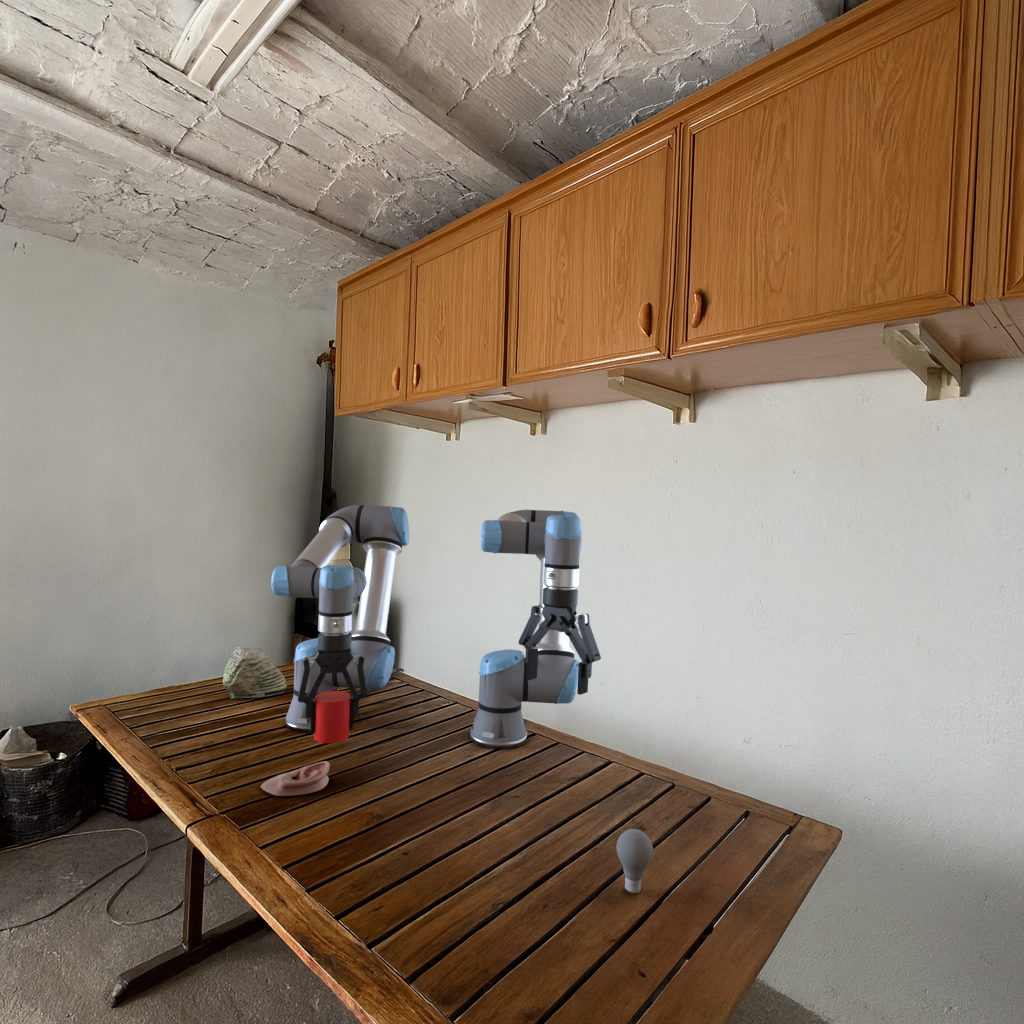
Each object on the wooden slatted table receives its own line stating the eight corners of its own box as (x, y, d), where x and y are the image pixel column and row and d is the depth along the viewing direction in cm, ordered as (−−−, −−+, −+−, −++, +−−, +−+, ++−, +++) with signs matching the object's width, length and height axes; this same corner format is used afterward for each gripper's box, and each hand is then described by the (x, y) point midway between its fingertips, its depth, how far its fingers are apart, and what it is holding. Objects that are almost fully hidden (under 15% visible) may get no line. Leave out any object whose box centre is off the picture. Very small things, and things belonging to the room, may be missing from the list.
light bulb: (610, 879, 108) (613, 822, 108) (644, 879, 109) (647, 822, 109) (619, 902, 102) (622, 840, 102) (655, 901, 103) (658, 840, 103)
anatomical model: (253, 773, 134) (283, 753, 145) (252, 792, 134) (282, 770, 145) (310, 782, 131) (336, 760, 142) (309, 801, 131) (335, 777, 143)
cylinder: (312, 731, 150) (313, 692, 149) (346, 728, 153) (348, 689, 152) (315, 745, 142) (316, 703, 142) (351, 741, 145) (353, 700, 145)
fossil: (218, 695, 195) (220, 647, 195) (278, 685, 208) (279, 640, 207) (228, 703, 189) (230, 653, 188) (289, 692, 201) (290, 645, 201)
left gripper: (287, 637, 140) (284, 739, 140) (382, 634, 147) (379, 731, 147) (287, 630, 147) (284, 727, 147) (378, 627, 154) (375, 719, 154)
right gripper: (505, 581, 141) (501, 676, 142) (600, 596, 125) (595, 703, 125) (527, 579, 147) (523, 670, 147) (620, 593, 130) (615, 695, 131)
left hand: (331, 729), depth 147 cm, fingers closed on cylinder, 8 cm apart
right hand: (556, 685), depth 136 cm, fingers open, 13 cm apart
